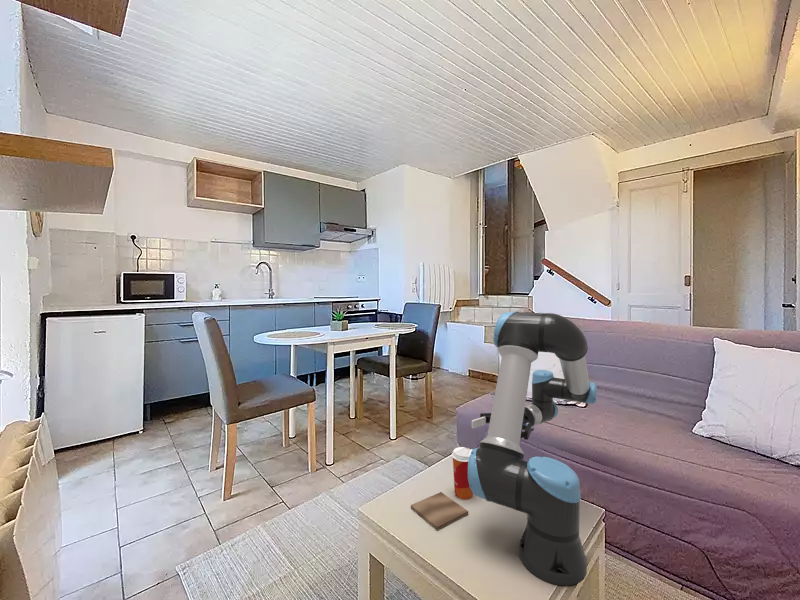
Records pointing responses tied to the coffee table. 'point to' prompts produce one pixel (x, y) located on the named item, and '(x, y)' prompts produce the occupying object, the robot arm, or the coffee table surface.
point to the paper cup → (461, 473)
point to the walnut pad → (439, 510)
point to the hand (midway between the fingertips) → (487, 431)
